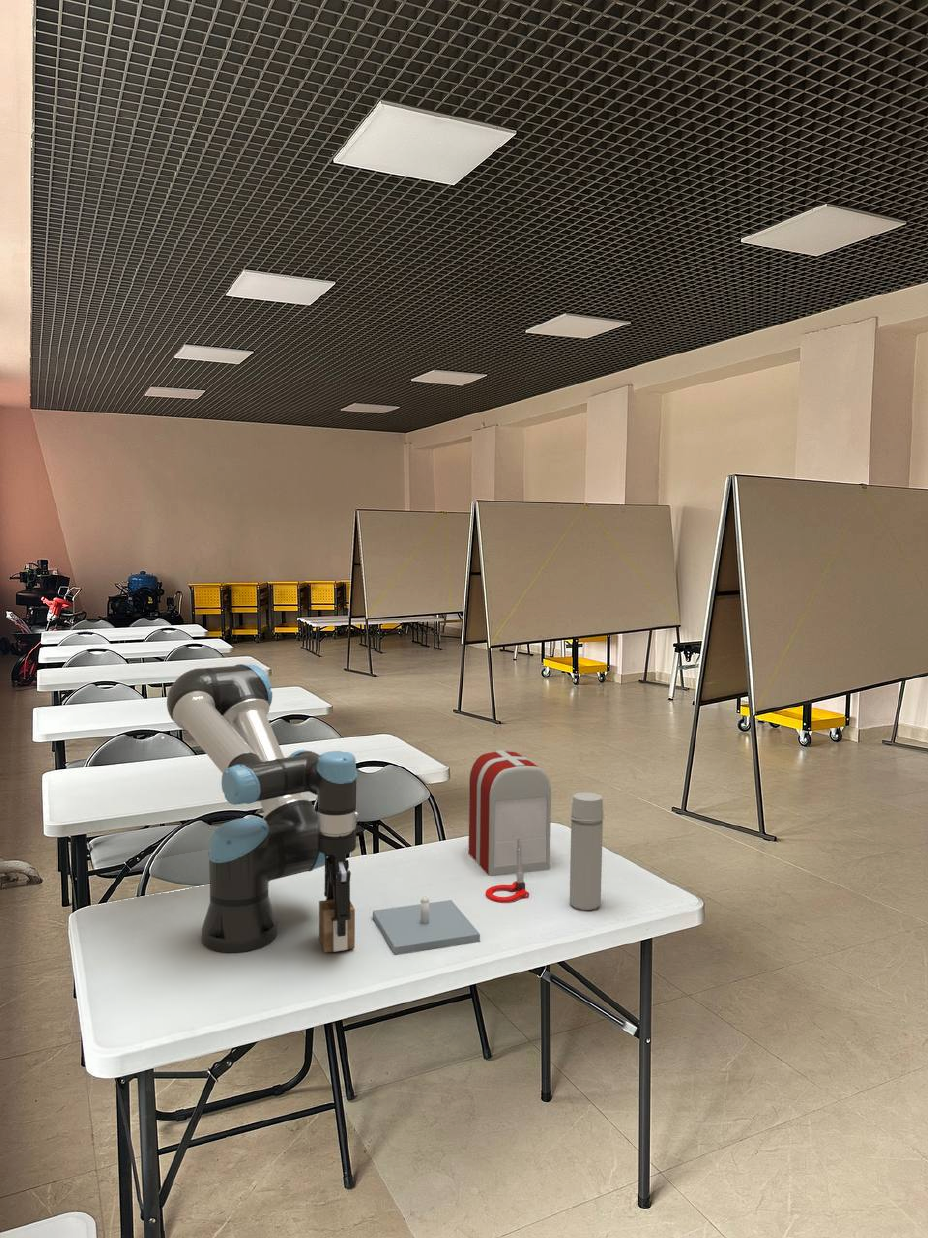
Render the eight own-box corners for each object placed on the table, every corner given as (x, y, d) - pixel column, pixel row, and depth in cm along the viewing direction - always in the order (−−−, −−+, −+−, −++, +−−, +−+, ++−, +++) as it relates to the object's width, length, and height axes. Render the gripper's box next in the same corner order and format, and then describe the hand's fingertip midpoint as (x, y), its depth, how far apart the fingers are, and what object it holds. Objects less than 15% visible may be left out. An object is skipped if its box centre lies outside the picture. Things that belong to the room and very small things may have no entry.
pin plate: (394, 954, 173) (394, 921, 172) (372, 917, 190) (372, 886, 189) (479, 941, 179) (480, 908, 178) (451, 906, 196) (451, 876, 195)
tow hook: (494, 907, 197) (531, 899, 200) (492, 851, 195) (529, 844, 199) (480, 893, 205) (516, 886, 208) (478, 839, 203) (514, 833, 207)
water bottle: (607, 911, 194) (609, 800, 192) (572, 913, 193) (575, 802, 191) (594, 894, 203) (596, 789, 201) (561, 896, 202) (563, 790, 200)
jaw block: (324, 952, 172) (324, 913, 171) (318, 939, 178) (318, 901, 177) (354, 948, 174) (354, 909, 173) (348, 935, 180) (348, 897, 179)
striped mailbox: (525, 846, 235) (527, 747, 233) (551, 869, 218) (553, 763, 216) (466, 852, 230) (467, 751, 228) (488, 877, 213) (490, 768, 211)
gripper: (366, 844, 166) (366, 961, 168) (345, 814, 184) (345, 920, 186) (327, 849, 164) (327, 967, 166) (309, 817, 181) (309, 925, 184)
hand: (336, 942), depth 176 cm, fingers closed on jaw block, 6 cm apart
